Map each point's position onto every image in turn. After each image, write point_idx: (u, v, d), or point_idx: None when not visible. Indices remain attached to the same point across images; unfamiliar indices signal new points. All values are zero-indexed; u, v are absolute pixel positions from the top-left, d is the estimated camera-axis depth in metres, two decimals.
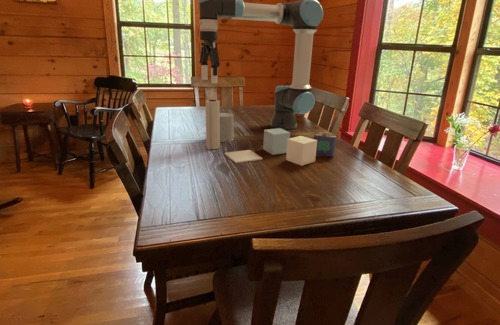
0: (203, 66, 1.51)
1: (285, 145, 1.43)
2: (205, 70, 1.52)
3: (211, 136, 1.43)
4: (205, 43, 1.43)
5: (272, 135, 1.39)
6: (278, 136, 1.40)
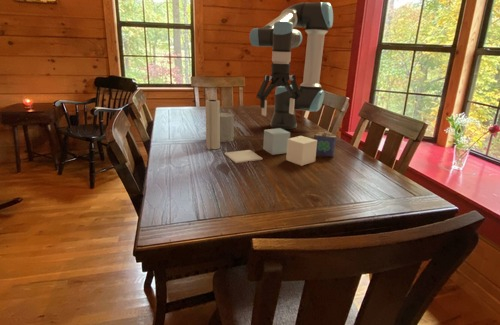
0: (290, 99, 1.42)
1: (285, 145, 1.43)
2: (291, 104, 1.42)
3: (211, 136, 1.43)
4: None
5: (272, 135, 1.39)
6: (278, 136, 1.40)
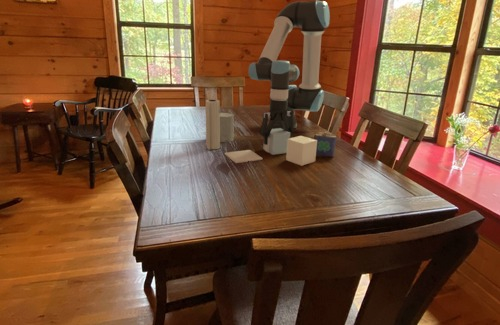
0: None
1: (285, 145, 1.43)
2: None
3: (211, 136, 1.43)
4: None
5: (272, 135, 1.39)
6: (278, 136, 1.40)
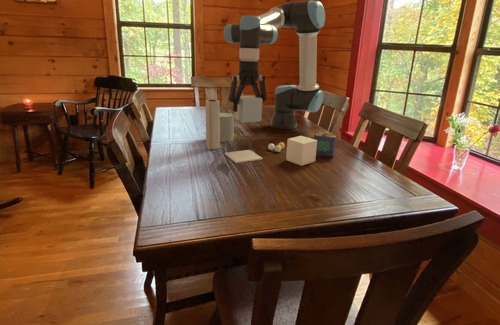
0: None
1: (257, 112, 1.29)
2: None
3: (211, 136, 1.43)
4: None
5: (242, 100, 1.25)
6: (248, 101, 1.26)
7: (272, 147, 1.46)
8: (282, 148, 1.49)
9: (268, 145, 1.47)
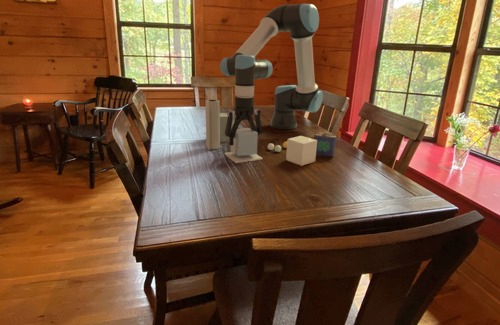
0: None
1: (252, 146, 1.33)
2: None
3: (211, 136, 1.43)
4: None
5: (237, 135, 1.30)
6: (244, 136, 1.30)
7: (271, 146, 1.46)
8: (286, 145, 1.49)
9: None
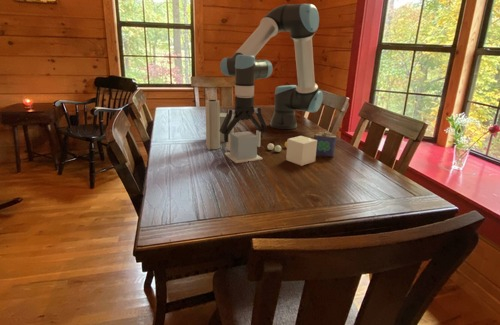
0: (257, 131, 1.38)
1: (252, 149, 1.34)
2: None
3: (211, 136, 1.43)
4: None
5: (237, 139, 1.30)
6: (244, 140, 1.31)
7: (271, 146, 1.46)
8: None
9: None
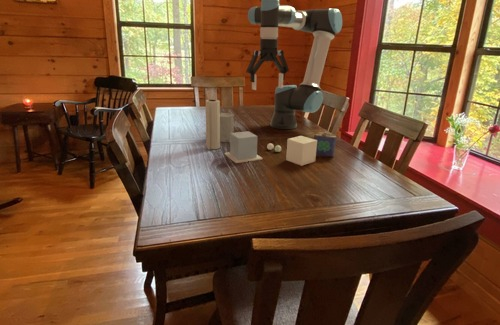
0: (279, 74, 1.49)
1: (252, 149, 1.34)
2: (280, 78, 1.49)
3: (211, 136, 1.43)
4: None
5: (237, 139, 1.30)
6: (244, 140, 1.31)
7: (271, 146, 1.46)
8: None
9: (267, 146, 1.47)
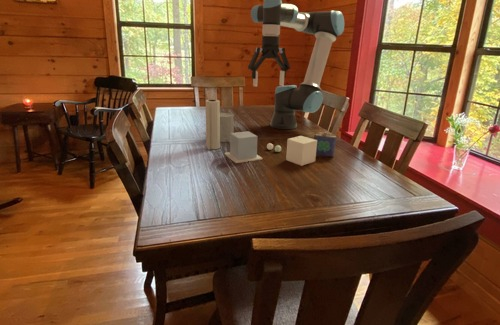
0: (280, 71, 1.50)
1: (252, 149, 1.34)
2: (281, 76, 1.50)
3: (211, 136, 1.43)
4: None
5: (237, 139, 1.30)
6: (244, 140, 1.31)
7: (270, 145, 1.46)
8: None
9: None
